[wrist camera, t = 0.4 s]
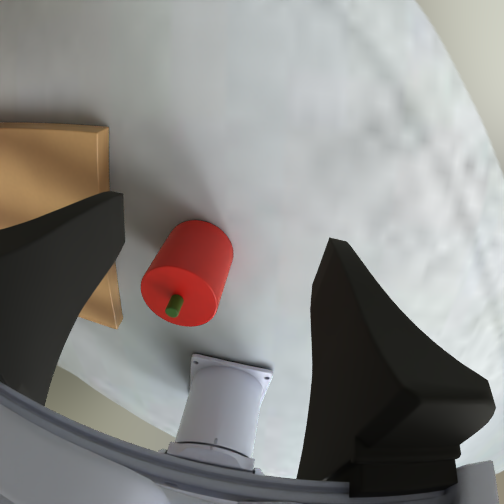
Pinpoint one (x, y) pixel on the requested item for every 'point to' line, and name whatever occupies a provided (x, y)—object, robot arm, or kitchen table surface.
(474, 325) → the kitchen table surface
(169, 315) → the pepper
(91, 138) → the cutting board
